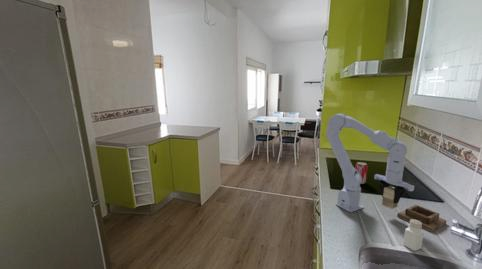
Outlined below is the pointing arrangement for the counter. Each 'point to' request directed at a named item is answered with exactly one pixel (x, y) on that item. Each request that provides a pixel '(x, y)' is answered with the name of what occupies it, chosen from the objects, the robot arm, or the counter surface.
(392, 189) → the birch peg
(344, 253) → the counter surface
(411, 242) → the salt shaker
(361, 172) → the beverage can
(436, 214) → the peg holder
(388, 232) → the counter surface
